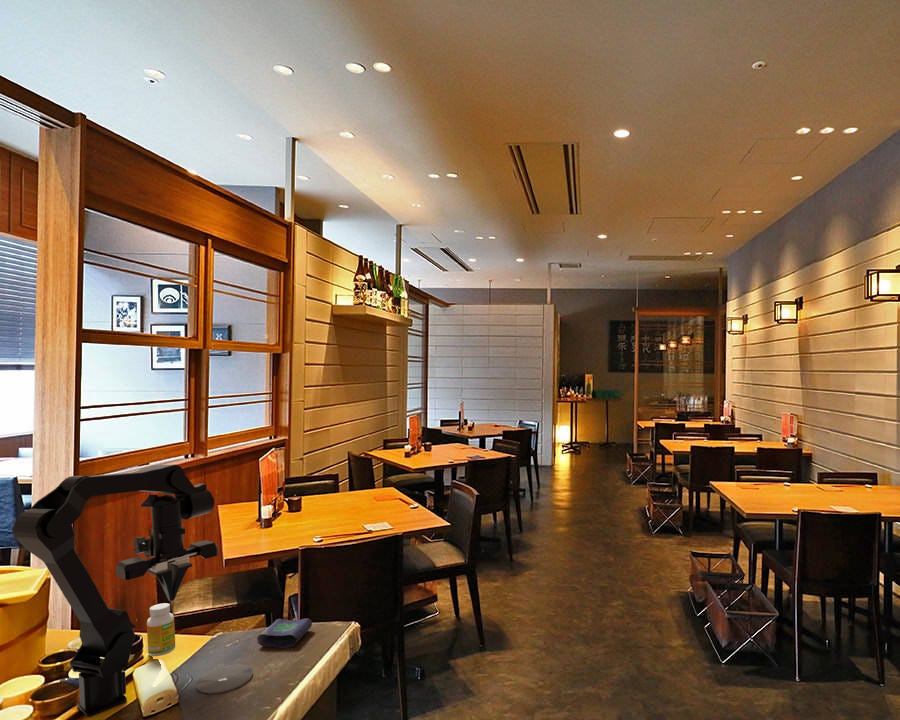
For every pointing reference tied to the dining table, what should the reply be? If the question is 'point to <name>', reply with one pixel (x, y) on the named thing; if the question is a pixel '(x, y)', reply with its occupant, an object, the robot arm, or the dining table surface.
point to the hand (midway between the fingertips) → (171, 600)
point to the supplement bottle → (160, 630)
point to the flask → (284, 633)
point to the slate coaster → (224, 679)
